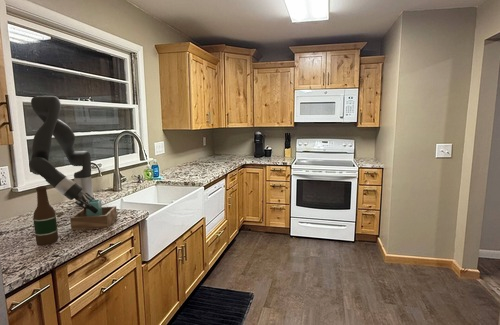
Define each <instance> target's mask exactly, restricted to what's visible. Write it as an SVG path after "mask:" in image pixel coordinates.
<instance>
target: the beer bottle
mask: <svg viewBox="0 0 500 325" xmlns="http://www.w3.org/2000/svg"><path fill="white" fill-rule="evenodd" d="M47 189H48V187H47V186H45V185H40V186H37V187H35V191H36V197H37V198H36V199H37V200H36V201H37V205H36V208H35V209H34V212H33V216H32V217H33V219H32V220H33V227H34V235H35V242H36V245H37V246H41V247H42V246H43V247H44V246H49V245H52V244H55V243H58V239H59V234H58V223H57V215H56V211H55V208H54V207H53V206H52V205H51V204H50V201H49V197H48V191H47Z"/></svg>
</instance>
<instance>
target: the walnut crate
mask: <svg viewBox="0 0 500 325" xmlns="http://www.w3.org/2000/svg"><path fill="white" fill-rule="evenodd" d="M117 218H118V214H117V206H116V205H114V206H102V215H100V216H87V213H86V210H85V209H84V208H82V209H80V210H79V211H78V212H76V213H75V214H74V215H72V216H71V217H69V220H70V231H83V230H93V229H95V230H96V229H107V228H109V227H110V226H111V225H112V224H113V222H114V221H115V220H116V219H117Z"/></svg>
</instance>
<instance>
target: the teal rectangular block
mask: <svg viewBox="0 0 500 325" xmlns="http://www.w3.org/2000/svg"><path fill="white" fill-rule="evenodd" d="M89 203H90V204H91V205H92V206H94V207H95V208H96V209H98V211H97V212H96V213H93V212H92V211H90V210H89V209H86V213H87V216H100V215H102V207H103V206H102V199H95V200H91V201H89Z"/></svg>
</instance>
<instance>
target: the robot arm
mask: <svg viewBox="0 0 500 325" xmlns="http://www.w3.org/2000/svg"><path fill="white" fill-rule="evenodd" d="M30 105H31V108H32V110H33V111H34V113H35V114H36V115H37V116H38V118H39V119H40V120H41V121H42V122H43V124H42V125H41V126H40V127H39V128H38V129H37V131H36V133H35V134H34V136H33V140H32V148H31V149H32V150H31V151H32V153H31V159H30V161H29V162H28V167H29V171H30V172H31V173H32V174H34V175H35V176H36V175H37V176H40V177H42V178H43V179H44V180H45V181H46V182H47V183H48V184H49V185H50V186H51V187H53V188H54V189H56V191H58V193H60V194H61V195H63V196H64V197H65V198H67V199H68V200H69V201H73V200H75V202H74V203H75V204H76V206H77V207H78V206H79V207H80V208H82V209H83V208H84V209H85V210H86V209H89V210H90V211H92V212H93V213H96V212H97V211H98V209H96V208H95V207H94V206H92V205H91V204H90V203H89V201H91V200H96V199H95V198H94V190H93V182H92V181H93V180H92V179H93V178H92V156H91V153H90V152H89V151H87V150H75V149H74V144H75V141H76V135H75V133H74V131H73V129H72V128H71V127H70V126H69V125H68V124H67V123H65V122H64V121H62V120H61V119H59V116H60V114H61V110H62V109H61V108H62V103H61V101H60V99H59V97H58V96H55V95H35V96H33V97H32V98H31V100H30ZM53 138H54V139H55V140H56V142H57V144H59V146H60V148H61V149H62V151H63V152H64V155H65V156H66V158H67V160H68V163H69V164H70V165H71V166H73V167H82V168H81V169H80V170H78V171H76V172H74V173H73V180H72V179H71V178H69V177H67V176H66V175H65V174H64V173H62V172H61V171H59V170H58V169H57V168H56V167H55V166H54V165H53V164H52V163H51V162H50V161H49V156H50V152H51V147H52V146H51V145H52V139H53Z"/></svg>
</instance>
